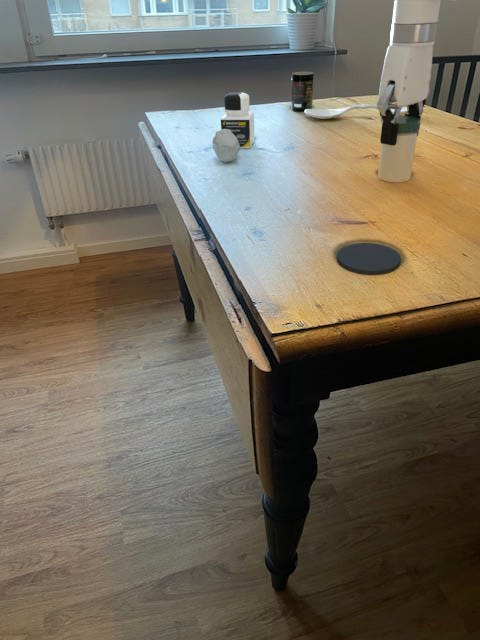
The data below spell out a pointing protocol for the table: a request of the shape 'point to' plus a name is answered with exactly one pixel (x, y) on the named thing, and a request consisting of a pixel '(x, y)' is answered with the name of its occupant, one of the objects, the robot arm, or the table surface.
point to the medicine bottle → (239, 118)
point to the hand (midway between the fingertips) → (399, 139)
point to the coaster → (368, 258)
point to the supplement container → (302, 91)
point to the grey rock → (225, 145)
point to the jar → (397, 159)
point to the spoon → (343, 111)
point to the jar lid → (408, 124)
